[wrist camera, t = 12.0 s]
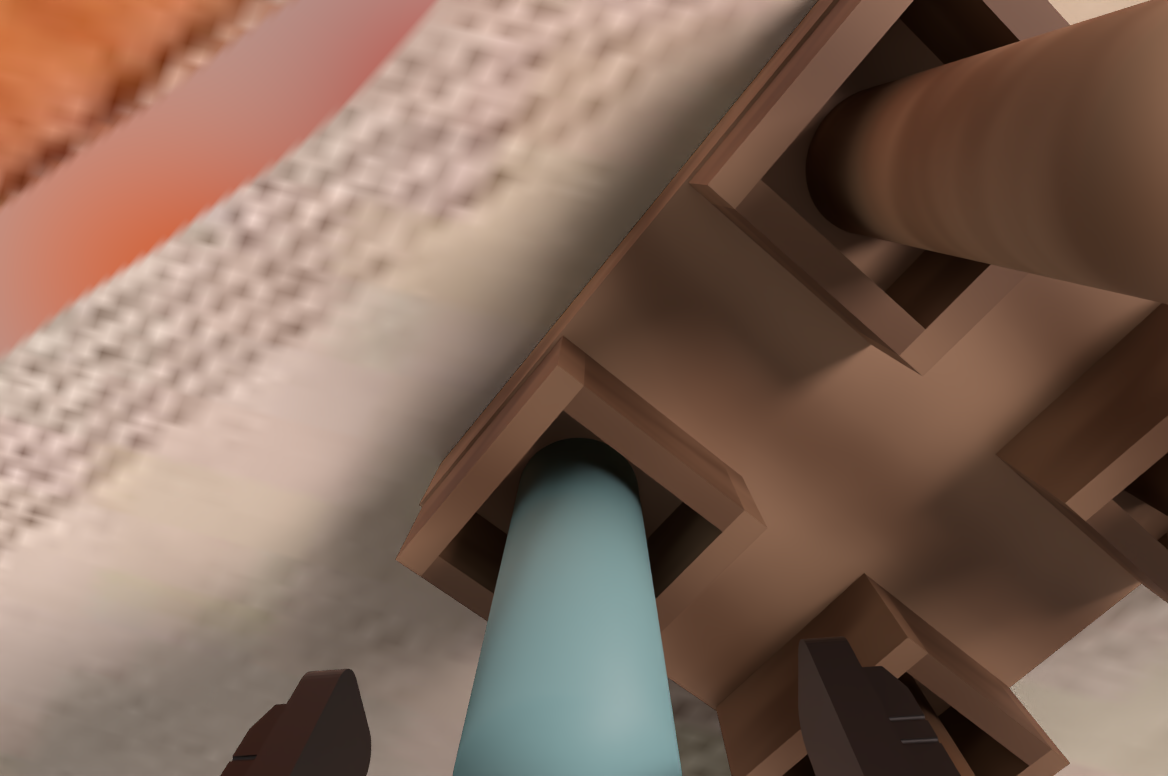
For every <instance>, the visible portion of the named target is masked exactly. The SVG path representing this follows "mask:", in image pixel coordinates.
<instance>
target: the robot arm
mask: <svg viewBox="0 0 1168 776" xmlns="http://www.w3.org/2000/svg"><path fill="white" fill-rule="evenodd" d="M798 711H799V721H800V727H801V732H802V737H803V741H804V744H805V747H806V750H807V753H808V756H809V759H810V761H811V764H812V767H813V770H814V773H815V775H816V776H961V775H960V773H959V772H958V770H957V768H956V767H955V765H954V763H953V762H952V760H951V758H950V757H949V755H948V753H947V752H946V750H945V748H944V747H943V745H942V743H939V741H938V737H937V735H936V733H935V732H934V730H933V728H932V727H931V725H930V723H929V722H928V720H925V716H924V713H923V712H922V710H921V708H920V707H919V705H918V703H917V702H916V700H915V698H914V697H913V695H912V693H911V692H910V690H909V688H908V687H907V686H905V685H904V684H903V683H902V682H901V681H900V680H898V679H897V678H896V677H895V676H894V675H892V674H891V673H890V672H889V671H888V670H886V669H885V668H884V667H883V666H872V667H862V666H861V664H860V663H859V661H858V659H857V657H856V655H855V653H854V651H853V649H852V648H851V646H850V644H849V642H848V640H847V639H846V638H845V637H843V636H839V637H824V638H810V639H801V640H800V641H799V646H798ZM370 757H371V736H370V731H369V727H368V723H367V719H366V715H365V711H364V708H363V704H362V700H361V696H360V692H359V688H358V684H357V680H356V677H355V674H354V672H353V671H352V670H350V669H341V670H326V671H312V672H308V673H306V674H305V675H304V676H303V677H302V679H301V680H300V682H299V684H298V686H297V687H296V689H295V691H294V692H293V694H292V696H291V698H290V699H289V701H288V703H287V704H279V705H275V706H274V707H273V708H272V709H270V710H269V711H268V712H267V713H266V714H265V715H264V716H263V717H262V718H261V719H260V720H259V721H258V722H257V723H255V724H254V725H253V726H252V727H251V728H250V729H249V731H248V732H247V734H246V736H245V737H244V739H243V740H242V742H241V744H240V745H239V747H238V748H237V750H236V752H235V753H234V755H233V760H232V762H229V763H228V764H227V766H226V768H225V769H224V771H223V772H222V774H221V776H366V774H367V771H368V768H369V763H370Z"/></svg>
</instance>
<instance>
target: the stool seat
mask: <svg viewBox="0 0 1168 776" xmlns="http://www.w3.org/2000/svg"><path fill="white" fill-rule="evenodd" d="M569 438H588V439H593V440H597V441H600V442H603V443H605V444H607V445H609V446H611V447H612V448H613V449H615V450H616V451H617V452H619V453H620V454H621V455H622V456H624V457H625V459H626V460H627V461H628V462H629V464H630V465H631V467H632V469H633V471H634V473H635V475H636V479H637V483H638V489H639V496H640V502H641V509H642V515H643V522H644V528H645V535H646V541H647V548H648V554H649V561H650V567H651V574H652V581H653V587H654V594H655V600H656V607H657V613H658V620H659V626H660V633H661V639H662V646H663V652H664V659H665V665H666V672H667V677H668V678H670V679H671V680H672V681H674V682H675V683H677V684H678V685H680V686H681V687H683V688H684V689H685V690H687V691H688V692H690V693H691V694H693V695H694V696H696V697H697V698H698V699H700V700H701V701H703V702H704V703H706V704H707V705H709V706H710V707H711V708H713V709H714V710H716V711H717V714H718V719H719V723H720V727H721V732H722V736H723V740H724V745H725V749H726V753H727V758H728V762H729V766H730V771H731V775H732V776H816V775H815V773H814V770H813V767H812V764H811V761H810V759H809V756H808V753H807V750H806V747H805V744H804V741H803V737H802V732H801V727H800V721H799V711H798V646H799V641H800V640H801V639H810V638H824V637H839V636H843V637H845V638H846V639H847V640H848V642H849V644H850V646H851V648H852V649H853V651H854V653H855V655H856V657H857V659H858V661H859V663H860V664H861V666H862V667H872V666H883V667H884V668H885V669H886V670H888V671H889V672H890V673H891V674H892V675H894V676H895V677H896V678H897V679H898V680H900V681H901V682H902V683H903V684H904V685H905V686H907V687H908V688H909V690H910V692H911V693H912V695H913V697H914V698H915V700H916V702H917V703H918V705H919V707H920V708H921V710H922V712H923V713H924V716H925V720H928V722H929V723H930V725H931V727H932V728H933V730H934V732H935V733H936V735H937V737H938V741H939V743H942V745H943V747H944V748H945V750H946V752H947V753H948V755H949V757H950V758H951V760H952V762H953V763H954V765H955V767H956V768H957V770H958V772H959V773H960V775H961V776H1053V775H1055V774H1056V773H1057V772H1059V771H1060V770H1062V769H1063V768H1064V767H1066V766H1067V765H1068V764H1070V763H1069V761H1068V760H1067V759H1066V758H1065V756H1064V755H1063V754H1062V753H1061V751H1060V750H1059V749H1058V748H1057V747H1056V745H1055V744H1054V743H1053V742H1052V740H1051V739H1050V738H1049V737H1048V735H1047V734H1046V733H1045V732H1044V730H1043V729H1042V728H1041V727H1040V726H1039V724H1038V723H1037V722H1036V721H1035V719H1034V718H1033V717H1032V716H1031V714H1030V713H1029V712H1028V711H1027V710H1026V708H1025V707H1024V706H1023V705H1022V703H1021V702H1020V701H1019V700H1018V698H1017V697H1016V696H1015V695H1014V693H1013V692H1012V691H1011V690H1010V689H1009V688H1010V687H1011V686H1012V685H1014V684H1015V683H1016V682H1017V681H1019V680H1020V679H1021V678H1022V677H1024V676H1025V675H1026V674H1027V673H1029V672H1030V671H1031V670H1033V669H1034V668H1035V667H1036V666H1038V665H1039V664H1040V663H1041V662H1043V661H1044V660H1045V659H1046V658H1048V657H1049V656H1050V655H1052V654H1053V653H1054V652H1055V651H1057V650H1058V649H1059V648H1060V647H1062V646H1063V645H1064V644H1065V643H1067V642H1068V641H1069V640H1071V639H1072V638H1073V637H1074V636H1076V635H1077V634H1078V633H1079V632H1081V631H1082V630H1083V629H1084V628H1086V627H1087V626H1088V625H1090V624H1091V623H1092V622H1093V621H1095V620H1096V619H1097V618H1098V617H1100V616H1101V615H1102V614H1104V613H1105V612H1106V611H1107V610H1109V609H1110V608H1111V607H1112V606H1114V605H1115V604H1116V603H1117V602H1119V601H1120V600H1121V599H1123V598H1124V597H1125V596H1126V595H1128V594H1129V593H1130V592H1131V591H1133V590H1134V589H1135V588H1136V587H1138V586H1139V585H1140V584H1143V585H1144V586H1146V587H1147V588H1148V589H1150V590H1151V591H1152V592H1154V593H1155V594H1156V595H1158V596H1159V597H1160V598H1162V599H1163V600H1164V601H1166V602H1167V603H1168V0H1150V1H1147V2H1144V3H1140V4H1137V5H1134V6H1131V7H1128V8H1124V9H1121V10H1118V11H1115V12H1112V13H1108V14H1105V15H1102V16H1099V17H1096V18H1092V19H1089V20H1086V21H1083V22H1080V23H1076V24H1073V25H1069V24H1068V23H1067V21H1066V20H1065V19H1064V18H1063V17H1062V16H1061V15H1060V14H1059V13H1058V11H1057V10H1056V9H1055V8H1054V7H1053V6H1052V5H1051V4H1050V3H1049V2H1048V0H818V1H817V2H816V4H815V5H814V6H813V7H812V9H811V10H810V11H809V12H808V14H807V15H806V16H805V17H804V18H803V20H802V21H801V22H800V23H799V25H798V26H797V27H796V28H795V29H794V31H793V32H792V33H791V34H790V36H789V37H788V38H787V39H786V41H785V42H784V43H783V44H782V45H781V47H780V48H779V49H778V50H777V52H776V53H775V54H774V55H773V56H772V58H771V59H770V60H769V61H768V63H767V64H766V65H765V66H764V68H763V69H762V70H761V71H760V72H759V74H758V75H757V76H756V77H755V79H754V80H753V81H752V82H751V83H750V85H749V86H748V87H747V88H746V90H745V91H744V92H743V93H742V95H741V96H740V97H739V98H738V99H737V101H736V102H735V103H734V104H733V106H732V107H731V108H730V109H729V110H728V112H727V113H726V114H725V115H724V117H723V118H722V119H721V120H720V122H719V123H718V124H717V125H716V126H715V128H714V129H713V130H712V131H711V133H710V134H709V135H708V136H707V137H706V139H705V140H704V141H703V142H702V144H701V145H700V146H699V147H698V149H697V150H696V151H695V152H694V153H693V155H692V156H691V157H690V158H689V160H688V161H687V162H686V163H685V164H684V166H683V167H682V168H681V169H680V171H679V172H678V173H677V174H676V176H675V177H674V178H673V179H672V180H671V182H670V183H669V184H668V185H667V187H666V188H665V189H664V190H663V191H662V193H661V194H660V195H659V196H658V198H657V199H656V200H655V201H654V203H653V204H652V205H651V206H650V207H649V209H648V210H647V211H646V212H645V214H644V215H643V216H642V217H641V218H640V220H639V221H638V222H637V223H636V225H635V226H634V227H633V228H632V230H631V231H630V232H629V233H628V234H627V236H626V237H625V238H624V239H623V241H622V242H621V243H620V244H619V245H618V247H617V248H616V249H615V250H614V252H613V253H612V254H611V255H610V257H609V258H608V259H607V260H606V261H605V263H604V264H603V265H602V266H601V268H600V269H599V270H598V271H597V272H596V274H595V275H594V276H593V277H592V279H591V280H590V281H589V282H588V284H587V285H586V286H585V287H584V288H583V290H582V291H581V292H580V293H579V295H578V296H577V297H576V298H575V299H574V301H573V302H572V303H571V304H570V306H569V307H568V308H567V309H566V311H565V312H564V313H563V314H562V315H561V317H560V318H559V319H558V320H557V322H556V323H555V324H554V325H553V326H552V328H551V329H550V330H549V331H548V333H547V334H546V335H545V336H544V338H543V339H542V340H541V341H540V342H539V344H538V345H537V346H536V347H535V349H534V350H533V351H532V352H531V353H530V355H529V356H528V357H527V358H526V360H525V361H524V362H523V363H522V365H521V366H520V367H519V368H518V369H517V371H516V372H515V373H514V374H513V376H512V377H511V378H510V379H509V380H508V382H507V383H506V384H505V385H504V387H503V388H502V389H501V390H500V392H499V393H498V394H497V395H496V396H495V398H494V399H493V400H492V401H491V403H490V404H489V405H488V406H487V407H486V409H485V410H484V411H483V412H482V414H481V415H480V416H479V417H478V419H477V420H476V421H475V422H474V423H473V425H472V426H471V427H470V428H469V430H468V431H467V432H466V433H465V434H464V436H463V437H462V438H461V439H460V441H459V442H458V443H457V444H456V446H455V447H454V448H453V449H452V450H451V452H450V453H449V454H448V455H447V457H446V458H445V459H444V460H443V461H442V463H441V464H440V466H439V468H438V470H437V472H436V474H435V476H434V477H433V479H432V481H431V483H430V485H429V487H428V489H427V491H426V493H425V495H424V496H423V498H422V500H421V502H420V504H419V505H420V506H421V507H422V509H421V511H420V513H419V515H418V516H417V518H416V520H415V522H414V524H413V526H412V528H411V530H410V532H409V534H408V536H407V538H406V540H405V542H404V544H403V546H402V548H401V550H400V552H399V554H398V556H397V558H396V559H395V560H397V561H398V562H400V563H401V564H403V565H404V566H406V567H407V568H409V569H410V570H412V571H413V572H415V573H416V574H418V575H419V576H421V577H422V578H424V579H425V580H427V581H428V582H430V583H431V584H433V585H434V586H436V587H437V588H439V589H440V590H442V591H443V592H445V593H446V594H448V595H449V596H451V597H452V598H454V599H455V600H456V601H458V602H459V603H461V604H462V605H464V606H465V607H467V608H468V609H470V610H471V611H473V612H474V613H476V614H477V615H479V616H480V617H482V618H483V619H485V620H486V621H488V618H489V614H490V609H491V605H492V601H493V596H494V592H495V587H496V583H497V579H498V574H499V570H500V566H501V561H502V557H503V553H504V548H505V544H506V540H507V535H508V531H509V526H510V522H511V518H512V513H513V509H514V505H515V500H516V496H517V492H518V487H519V483H520V478H521V475H522V473H523V470H524V468H525V467H526V465H527V463H528V462H529V461H530V459H531V458H532V457H533V456H534V455H535V454H536V453H537V452H538V451H540V450H541V449H542V448H544V447H546V446H547V445H549V444H551V443H554V442H556V441H560V440H563V439H569Z"/></svg>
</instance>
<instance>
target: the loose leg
mask: <svg viewBox="0 0 1168 776" xmlns="http://www.w3.org/2000/svg"><path fill="white" fill-rule="evenodd" d="M453 776H682V770H681V763H680V757H679V750H678V744H677V737H676V731H675V724H674V718H673V711H672V705H671V698H670V692H669V685H668V679H667V672H666V665H665V659H664V652H663V646H662V639H661V633H660V626H659V620H658V613H657V607H656V600H655V594H654V587H653V581H652V574H651V567H650V561H649V554H648V548H647V541H646V535H645V528H644V522H643V515H642V509H641V502H640V496H639V489H638V483H637V479H636V475H635V473H634V471H633V469H632V467H631V465H630V464H629V462H628V461H627V460H626V459H625V457H624V456H622V455H621V454H620V453H619V452H617V451H616V450H615V449H613V448H612V447H611V446H609V445H607V444H605V443H603V442H600V441H597V440H593V439H588V438H569V439H563V440H560V441H556V442H554V443H551V444H549V445H547V446H546V447H544V448H542V449H541V450H540V451H538V452H537V453H536V454H535V455H534V456H533V457H532V458H531V459H530V461H529V462H528V463H527V465H526V467H525V468H524V470H523V473H522V475H521V478H520V483H519V487H518V492H517V496H516V500H515V505H514V509H513V513H512V518H511V522H510V526H509V531H508V535H507V540H506V544H505V548H504V553H503V557H502V561H501V566H500V570H499V574H498V579H497V583H496V587H495V592H494V596H493V601H492V605H491V609H490V614H489V618H488V622H487V627H486V631H485V635H484V640H483V644H482V648H481V653H480V657H479V662H478V666H477V670H476V675H475V679H474V683H473V688H472V692H471V696H470V701H469V705H468V709H467V714H466V718H465V723H464V727H463V731H462V736H461V740H460V744H459V749H458V753H457V757H456V762H455V766H454V771H453Z"/></svg>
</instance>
